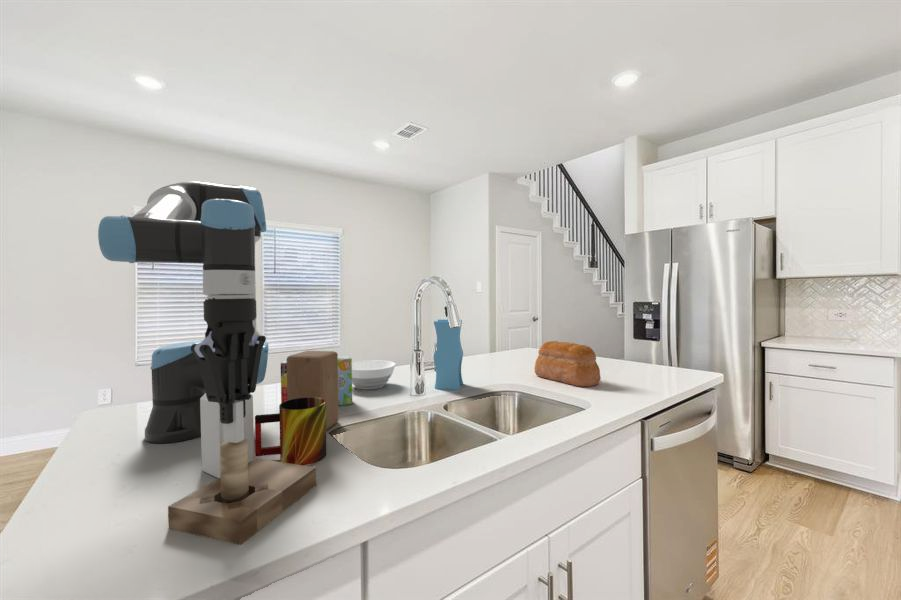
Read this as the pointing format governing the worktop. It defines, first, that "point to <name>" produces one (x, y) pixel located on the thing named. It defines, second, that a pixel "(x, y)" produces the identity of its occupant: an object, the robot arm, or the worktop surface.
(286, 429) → the mug
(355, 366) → the bowl
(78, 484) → the worktop surface
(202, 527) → the board
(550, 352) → the bread
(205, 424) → the milk carton
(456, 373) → the vase
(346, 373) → the snack box
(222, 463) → the peg
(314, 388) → the wooden block
